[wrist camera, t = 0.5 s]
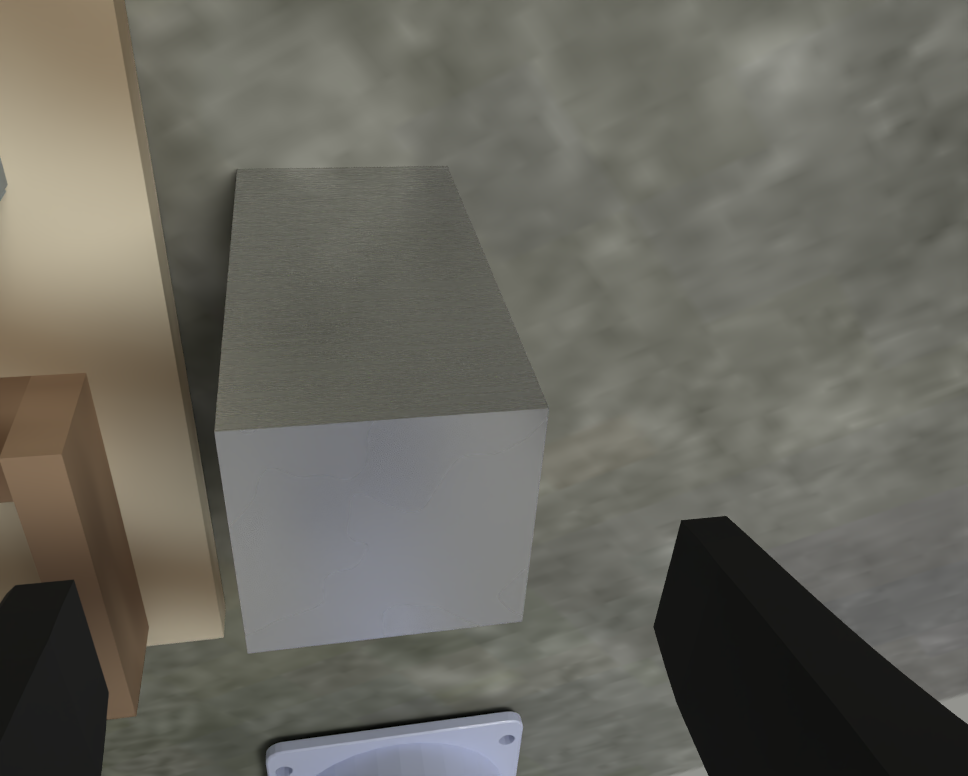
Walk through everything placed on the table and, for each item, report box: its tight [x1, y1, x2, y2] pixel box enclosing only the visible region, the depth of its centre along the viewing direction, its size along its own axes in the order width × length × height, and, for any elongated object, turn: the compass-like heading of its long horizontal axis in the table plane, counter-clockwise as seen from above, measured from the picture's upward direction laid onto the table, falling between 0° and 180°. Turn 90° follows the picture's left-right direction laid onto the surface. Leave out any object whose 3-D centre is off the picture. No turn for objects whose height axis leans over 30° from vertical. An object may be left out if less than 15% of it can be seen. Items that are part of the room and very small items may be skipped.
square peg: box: [214, 166, 549, 653], centre depth 15 cm, size 4×4×8 cm
